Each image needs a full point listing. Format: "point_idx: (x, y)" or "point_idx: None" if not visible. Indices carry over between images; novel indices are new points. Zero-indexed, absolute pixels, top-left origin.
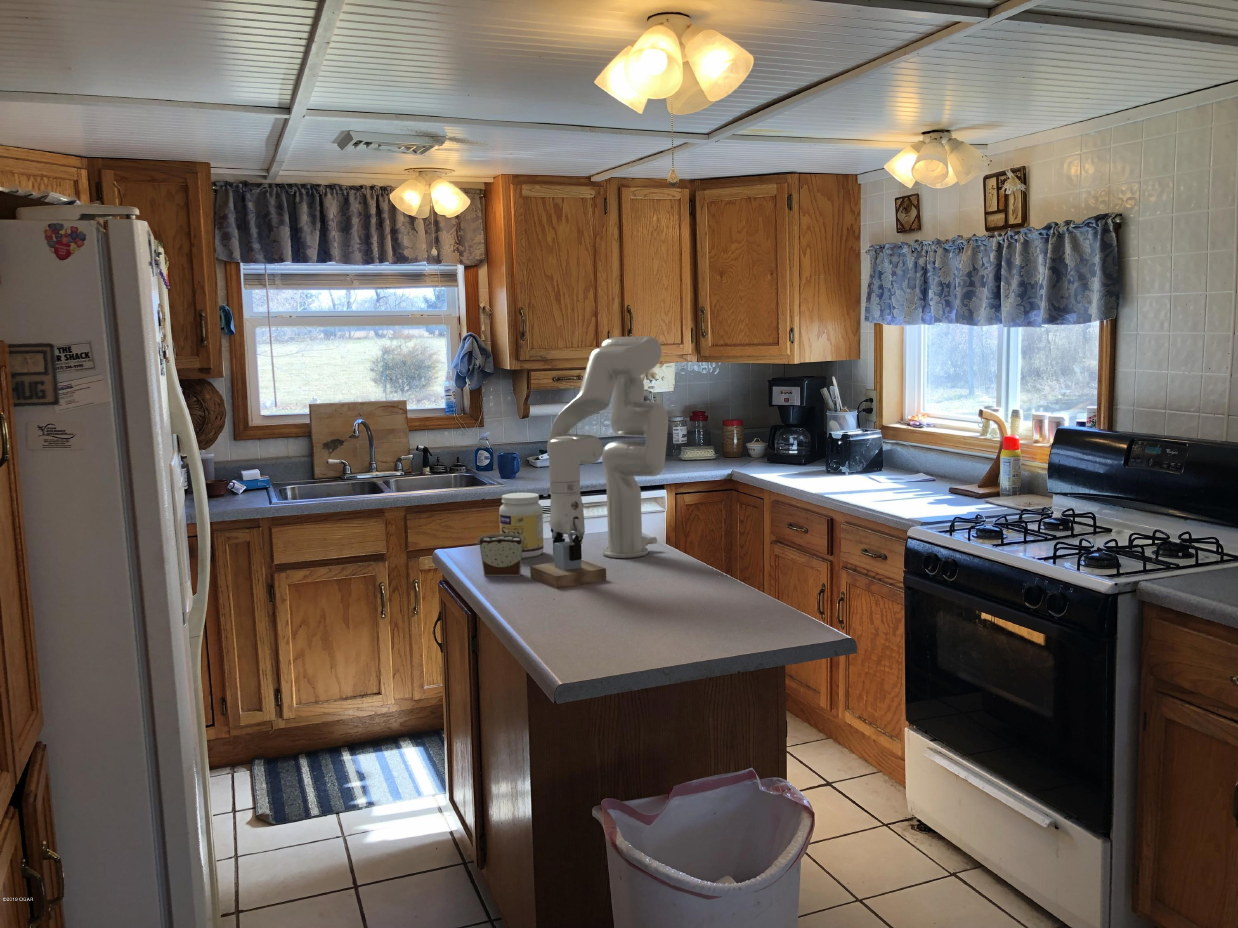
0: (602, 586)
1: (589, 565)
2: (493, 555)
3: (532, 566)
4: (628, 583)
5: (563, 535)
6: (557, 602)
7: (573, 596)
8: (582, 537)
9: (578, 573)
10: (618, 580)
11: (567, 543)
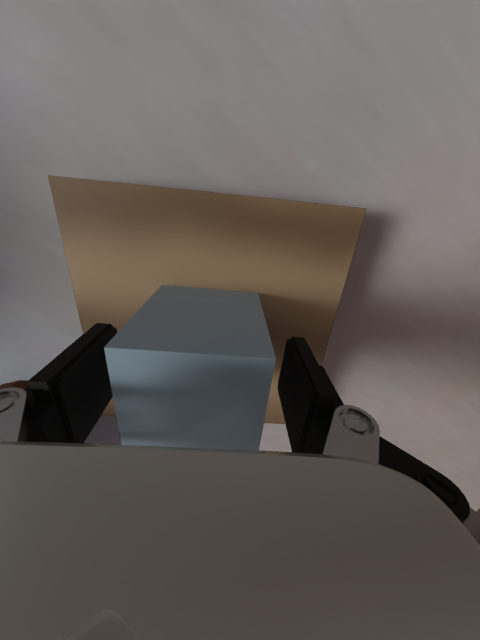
0: (396, 284)
1: (251, 238)
2: None
3: (113, 413)
4: (465, 169)
5: (23, 411)
6: (399, 447)
7: (396, 403)
8: (454, 492)
9: (323, 350)
10: (390, 168)
11: (189, 411)
